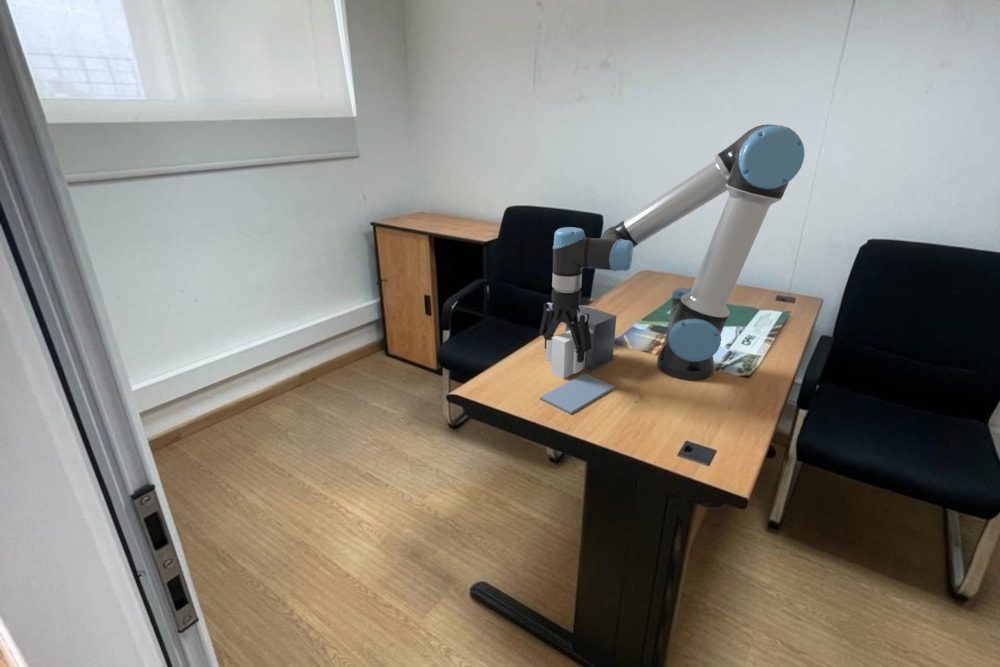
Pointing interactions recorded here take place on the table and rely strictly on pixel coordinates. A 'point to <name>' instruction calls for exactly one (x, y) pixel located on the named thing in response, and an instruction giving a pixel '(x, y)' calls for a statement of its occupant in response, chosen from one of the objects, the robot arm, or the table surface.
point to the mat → (577, 393)
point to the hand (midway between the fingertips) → (563, 365)
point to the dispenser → (599, 337)
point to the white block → (564, 355)
